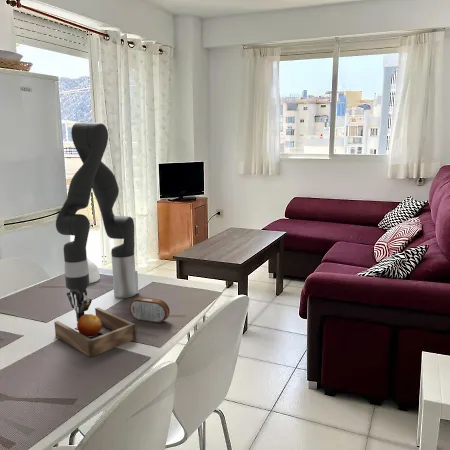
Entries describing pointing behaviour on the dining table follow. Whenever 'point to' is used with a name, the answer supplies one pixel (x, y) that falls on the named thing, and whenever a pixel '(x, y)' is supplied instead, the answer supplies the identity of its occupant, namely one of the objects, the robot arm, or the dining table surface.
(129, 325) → the wooden u-shaped frame
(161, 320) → the tin
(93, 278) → the teardrop
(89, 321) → the fruit
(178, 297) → the dining table surface
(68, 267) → the robot arm
